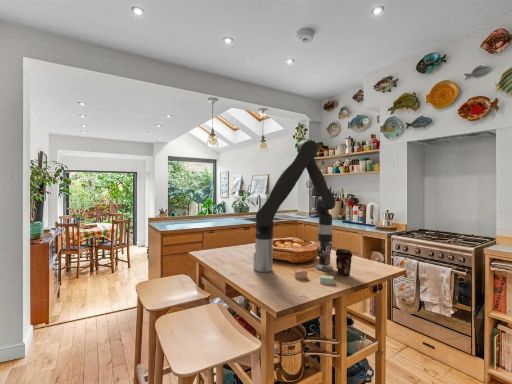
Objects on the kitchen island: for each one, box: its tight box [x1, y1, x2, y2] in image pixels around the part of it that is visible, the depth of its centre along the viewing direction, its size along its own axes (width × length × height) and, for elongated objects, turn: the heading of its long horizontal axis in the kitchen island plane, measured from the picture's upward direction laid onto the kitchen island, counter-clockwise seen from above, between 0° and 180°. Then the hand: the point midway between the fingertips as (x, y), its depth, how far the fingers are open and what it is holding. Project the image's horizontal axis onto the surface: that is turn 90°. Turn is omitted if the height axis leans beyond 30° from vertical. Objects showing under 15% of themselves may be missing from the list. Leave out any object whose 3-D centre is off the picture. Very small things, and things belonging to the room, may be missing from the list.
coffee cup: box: [335, 248, 353, 279], centre depth 138 cm, size 9×8×13 cm
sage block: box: [319, 274, 334, 285], centre depth 128 cm, size 6×4×3 cm, turn 77°
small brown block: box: [294, 268, 308, 281], centre depth 134 cm, size 6×6×4 cm
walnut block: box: [318, 254, 331, 266], centre depth 149 cm, size 4×4×6 cm
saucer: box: [315, 263, 333, 272], centre depth 149 cm, size 9×9×1 cm
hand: (324, 263), depth 149 cm, fingers closed on walnut block, 4 cm apart
